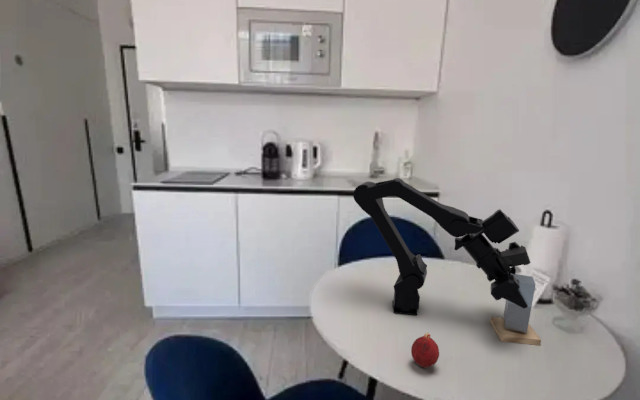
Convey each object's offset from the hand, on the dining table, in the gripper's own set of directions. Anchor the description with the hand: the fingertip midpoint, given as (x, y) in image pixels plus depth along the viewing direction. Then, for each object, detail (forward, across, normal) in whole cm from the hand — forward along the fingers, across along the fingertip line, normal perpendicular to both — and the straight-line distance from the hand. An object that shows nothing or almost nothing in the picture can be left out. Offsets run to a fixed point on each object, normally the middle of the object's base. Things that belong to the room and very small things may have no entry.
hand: (524, 302), depth 93 cm
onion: (-8, -24, +21) cm, 33 cm away
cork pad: (+5, 0, +7) cm, 9 cm away
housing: (+4, 0, +6) cm, 7 cm away
